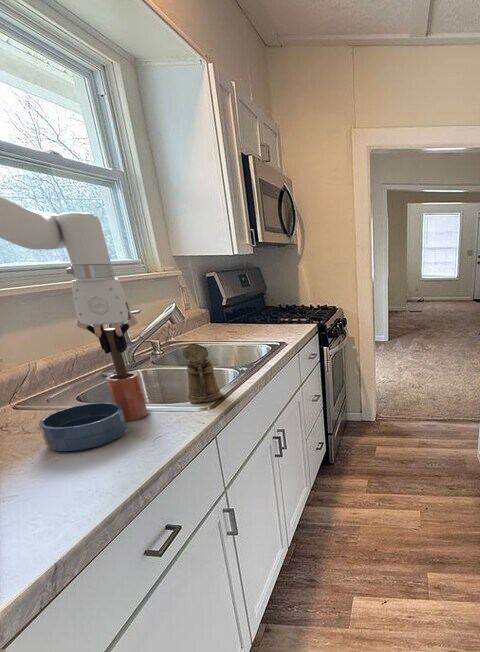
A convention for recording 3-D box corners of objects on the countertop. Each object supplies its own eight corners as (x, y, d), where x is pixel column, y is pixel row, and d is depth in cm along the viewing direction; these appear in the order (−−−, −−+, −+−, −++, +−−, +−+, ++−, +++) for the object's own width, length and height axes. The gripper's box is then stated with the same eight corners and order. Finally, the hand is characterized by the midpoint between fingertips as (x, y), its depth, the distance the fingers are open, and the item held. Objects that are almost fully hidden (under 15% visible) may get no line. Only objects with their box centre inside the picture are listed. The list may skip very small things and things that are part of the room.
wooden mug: (187, 410, 109) (173, 345, 102) (189, 395, 120) (176, 335, 113) (222, 406, 112) (211, 342, 105) (220, 391, 123) (210, 332, 116)
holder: (114, 422, 102) (102, 381, 97) (122, 412, 108) (111, 373, 103) (143, 419, 103) (133, 378, 99) (150, 409, 109) (140, 371, 105)
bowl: (34, 458, 85) (24, 432, 82) (65, 428, 98) (57, 406, 96) (116, 448, 89) (109, 423, 86) (135, 421, 102) (129, 399, 100)
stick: (124, 408, 103) (102, 330, 95) (127, 404, 105) (105, 328, 97) (134, 407, 104) (113, 329, 96) (137, 403, 106) (116, 327, 98)
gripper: (45, 274, 86) (72, 358, 93) (128, 273, 90) (148, 353, 98) (60, 272, 93) (84, 350, 100) (137, 271, 97) (155, 346, 104)
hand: (115, 351), depth 99 cm, fingers closed on stick, 2 cm apart
